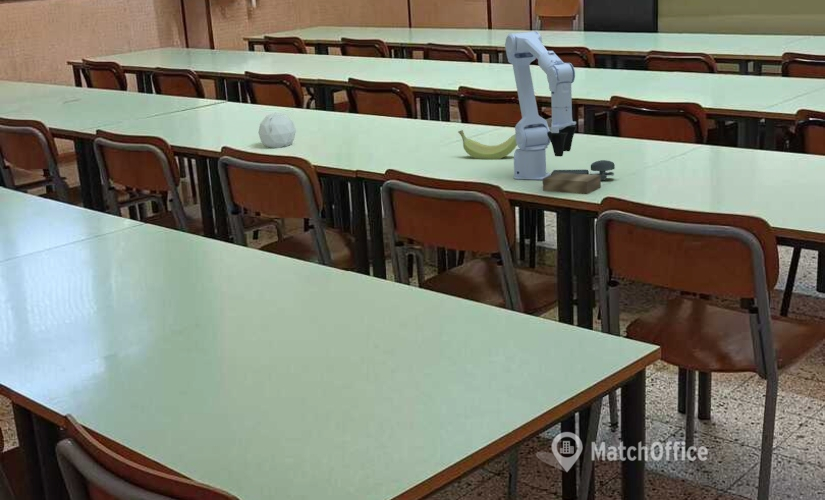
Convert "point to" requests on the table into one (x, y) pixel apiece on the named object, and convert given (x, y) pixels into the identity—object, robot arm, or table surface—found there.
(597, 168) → the can opener
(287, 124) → the geodesic sphere
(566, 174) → the walnut block
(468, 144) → the banana
